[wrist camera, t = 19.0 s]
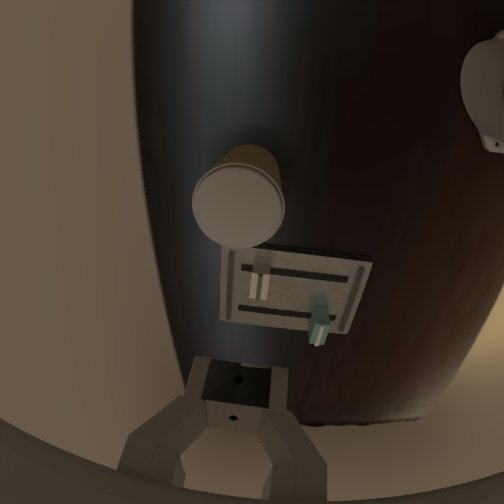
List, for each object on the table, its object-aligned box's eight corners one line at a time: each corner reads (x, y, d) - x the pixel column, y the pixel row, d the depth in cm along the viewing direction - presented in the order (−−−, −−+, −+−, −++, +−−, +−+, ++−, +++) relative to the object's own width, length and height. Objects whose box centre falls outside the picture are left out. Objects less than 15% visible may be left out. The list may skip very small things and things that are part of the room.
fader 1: (271, 258, 46) (269, 276, 43) (268, 282, 49) (266, 301, 45) (254, 256, 47) (251, 274, 43) (252, 280, 49) (249, 299, 45)
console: (370, 256, 47) (373, 265, 45) (346, 327, 55) (347, 336, 53) (223, 238, 48) (220, 246, 46) (221, 313, 56) (219, 322, 54)
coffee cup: (250, 217, 45) (238, 266, 35) (200, 171, 42) (171, 209, 32) (300, 173, 41) (304, 213, 31) (249, 122, 38) (234, 144, 28)
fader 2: (328, 307, 50) (330, 327, 47) (322, 326, 53) (323, 346, 49) (313, 306, 50) (314, 325, 47) (308, 325, 53) (309, 345, 49)
